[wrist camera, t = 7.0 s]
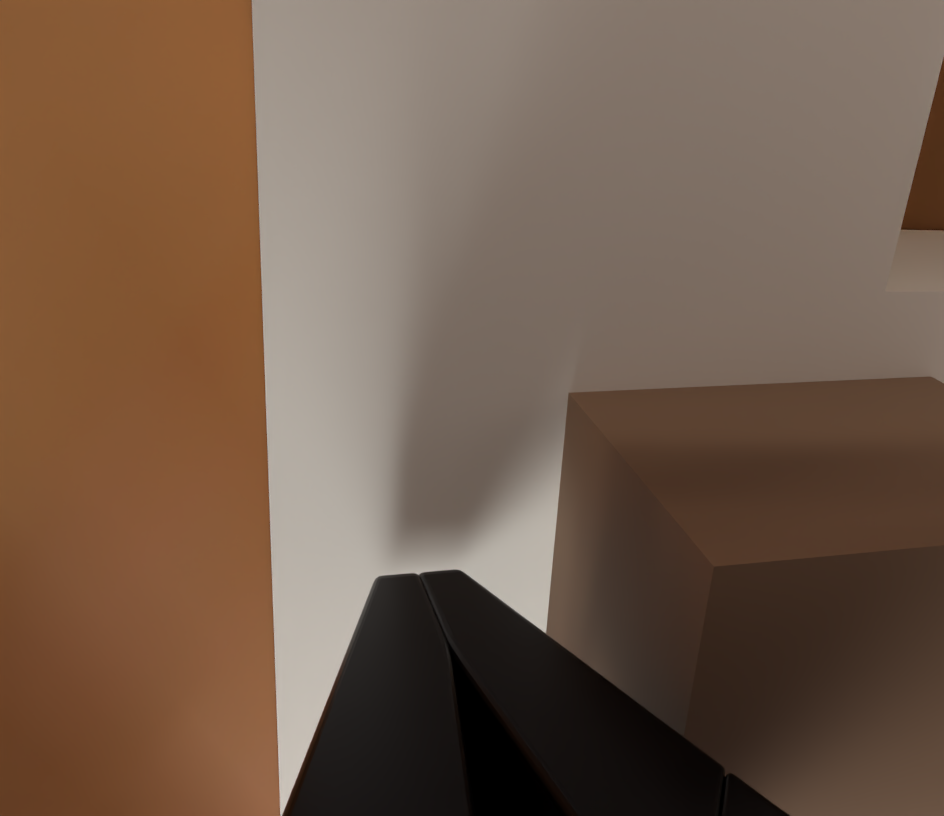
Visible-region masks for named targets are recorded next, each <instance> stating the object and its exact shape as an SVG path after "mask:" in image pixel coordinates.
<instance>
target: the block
mask: <svg viewBox="0 0 944 816" xmlns="http://www.w3.org/2000/svg"><path fill="white" fill-rule="evenodd" d="M546 634H547V635H549V636H550V637H551V638H553V639H554V640H555V641H557V642H558V643H559V644H561V645H562V646H563V647H565V648H566V649H567V650H569V651H570V652H571V653H573V654H574V655H575V656H577V657H578V658H579V659H581V660H582V661H583V662H585V663H586V664H587V665H589V666H590V667H591V668H593V669H594V670H595V671H597V672H598V673H599V674H601V675H602V676H603V677H605V678H606V679H607V680H609V681H610V682H611V683H613V684H614V685H615V686H617V687H618V688H619V689H621V690H622V691H623V692H625V693H626V694H627V695H629V696H630V697H631V698H633V699H634V700H635V701H637V702H638V703H639V704H641V705H642V706H643V707H645V708H646V709H647V710H649V711H650V712H651V713H653V714H654V715H655V716H657V717H658V718H659V719H661V720H662V721H663V722H665V723H666V724H667V725H669V726H670V727H671V728H673V729H674V730H675V731H677V732H678V733H679V734H681V735H682V736H683V737H685V738H686V739H687V740H689V741H690V742H691V743H693V744H694V745H695V746H697V747H698V748H699V749H701V750H702V751H703V752H705V753H706V754H707V755H709V756H710V757H711V758H713V759H714V760H715V761H717V762H718V763H719V764H721V765H722V766H723V767H724V768H725V776H726V775H727V774H729V773H732V774H735V775H736V776H737V777H739V778H740V779H741V780H743V781H744V782H745V783H747V784H748V785H749V786H751V787H752V788H753V789H755V790H756V791H757V792H759V793H760V794H761V795H763V796H764V797H765V798H767V799H768V800H769V801H771V802H772V803H773V804H775V805H776V806H778V807H779V808H780V809H782V810H783V811H785V812H786V813H787V814H789V815H790V816H944V383H942V382H940V381H939V380H937V379H935V378H933V377H908V378H886V379H863V380H841V381H818V382H796V383H773V384H751V385H728V386H706V387H683V388H661V389H639V390H617V391H595V392H573V393H568V404H567V414H566V425H565V435H564V446H563V457H562V467H561V478H560V489H559V499H558V510H557V521H556V532H555V542H554V553H553V564H552V574H551V585H550V596H549V607H548V617H547V628H546Z"/></svg>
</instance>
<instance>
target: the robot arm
mask: <svg viewBox="0 0 944 816" xmlns="http://www.w3.org/2000/svg"><path fill="white" fill-rule="evenodd" d="M282 816H790V815H789V814H787V813H786V812H785V811H783V810H782V809H780V808H779V807H778V806H776V805H775V804H773V803H772V802H771V801H769V800H768V799H767V798H765V797H764V796H763V795H761V794H760V793H759V792H757V791H756V790H755V789H753V788H752V787H751V786H749V785H748V784H747V783H745V782H744V781H743V780H741V779H740V778H739V777H737V776H736V775H735V774H732V773H729V774H727V775H726V776H725V768H724V767H723V766H722V765H721V764H719V763H718V762H717V761H715V760H714V759H713V758H711V757H710V756H709V755H707V754H706V753H705V752H703V751H702V750H701V749H699V748H698V747H697V746H695V745H694V744H693V743H691V742H690V741H689V740H687V739H686V738H685V737H683V736H682V735H681V734H679V733H678V732H677V731H675V730H674V729H673V728H671V727H670V726H669V725H667V724H666V723H665V722H663V721H662V720H661V719H659V718H658V717H657V716H655V715H654V714H653V713H651V712H650V711H649V710H647V709H646V708H645V707H643V706H642V705H641V704H639V703H638V702H637V701H635V700H634V699H633V698H631V697H630V696H629V695H627V694H626V693H625V692H623V691H622V690H621V689H619V688H618V687H617V686H615V685H614V684H613V683H611V682H610V681H609V680H607V679H606V678H605V677H603V676H602V675H601V674H599V673H598V672H597V671H595V670H594V669H593V668H591V667H590V666H589V665H587V664H586V663H585V662H583V661H582V660H581V659H579V658H578V657H577V656H575V655H574V654H573V653H571V652H570V651H569V650H567V649H566V648H565V647H563V646H562V645H561V644H559V643H558V642H557V641H555V640H554V639H553V638H551V637H550V636H549V635H547V634H546V633H545V632H543V631H542V630H541V629H539V628H538V627H537V626H535V625H534V624H533V623H531V622H530V621H529V620H527V619H526V618H525V617H523V616H522V615H521V614H519V613H518V612H517V611H515V610H514V609H513V608H511V607H510V606H509V605H507V604H506V603H505V602H503V601H502V600H501V599H499V598H498V597H497V596H495V595H494V594H493V593H491V592H490V591H489V590H487V589H486V588H484V587H483V586H482V585H480V584H479V583H478V582H476V581H475V580H474V579H472V578H471V577H470V576H468V575H467V574H466V573H464V572H463V571H461V570H457V569H453V570H442V571H430V572H423V573H420V574H419V575H418V574H415V573H407V574H395V575H382V576H378V577H377V578H376V579H375V580H374V582H373V584H372V587H371V589H370V592H369V595H368V597H367V600H366V602H365V605H364V607H363V610H362V612H361V615H360V618H359V620H358V623H357V625H356V628H355V630H354V633H353V635H352V638H351V641H350V643H349V646H348V648H347V651H346V653H345V656H344V659H343V661H342V664H341V666H340V669H339V671H338V674H337V676H336V679H335V682H334V684H333V687H332V689H331V692H330V694H329V697H328V699H327V702H326V705H325V707H324V710H323V712H322V715H321V717H320V720H319V722H318V725H317V728H316V730H315V733H314V735H313V738H312V740H311V743H310V745H309V748H308V751H307V753H306V756H305V758H304V761H303V763H302V766H301V768H300V771H299V774H298V776H297V779H296V781H295V784H294V786H293V789H292V791H291V794H290V797H289V799H288V802H287V804H286V807H285V809H284V812H283V814H282Z"/></svg>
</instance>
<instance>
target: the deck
mask: <svg viewBox="0 0 944 816" xmlns="http://www.w3.org/2000/svg"><path fill="white" fill-rule="evenodd" d="M252 24H253V53H254V81H255V109H256V137H257V166H258V194H259V222H260V251H261V279H262V307H263V335H264V364H265V392H266V420H267V448H268V477H269V505H270V533H271V562H272V590H273V618H274V646H275V675H276V703H277V731H278V759H279V788H280V816H282V814H283V812H284V809H285V807H286V804H287V802H288V799H289V797H290V794H291V791H292V789H293V786H294V784H295V781H296V779H297V776H298V774H299V771H300V768H301V766H302V763H303V761H304V758H305V756H306V753H307V751H308V748H309V745H310V743H311V740H312V738H313V735H314V733H315V730H316V728H317V725H318V722H319V720H320V717H321V715H322V712H323V710H324V707H325V705H326V702H327V699H328V697H329V694H330V692H331V689H332V687H333V684H334V682H335V679H336V676H337V674H338V671H339V669H340V666H341V664H342V661H343V659H344V656H345V653H346V651H347V648H348V646H349V643H350V641H351V638H352V635H353V633H354V630H355V628H356V625H357V623H358V620H359V618H360V615H361V612H362V610H363V607H364V605H365V602H366V600H367V597H368V595H369V592H370V589H371V587H372V584H373V582H374V580H375V579H376V578H377V577H378V576H382V575H395V574H407V573H415V574H418V575H419V574H420V573H423V572H430V571H442V570H453V569H457V570H461V571H463V572H464V573H466V574H467V575H468V576H470V577H471V578H472V579H474V580H475V581H476V582H478V583H479V584H480V585H482V586H483V587H484V588H486V589H487V590H489V591H490V592H491V593H493V594H494V595H495V596H497V597H498V598H499V599H501V600H502V601H503V602H505V603H506V604H507V605H509V606H510V607H511V608H513V609H514V610H515V611H517V612H518V613H519V614H521V615H522V616H523V617H525V618H526V619H527V620H529V621H530V622H531V623H533V624H534V625H535V626H537V627H538V628H539V629H541V630H542V631H543V632H545V633H546V628H547V617H548V607H549V596H550V585H551V574H552V564H553V553H554V542H555V532H556V521H557V510H558V499H559V489H560V478H561V467H562V457H563V446H564V435H565V425H566V414H567V404H568V393H573V392H595V391H617V390H639V389H661V388H683V387H706V386H728V385H751V384H773V383H796V382H818V381H841V380H863V379H886V378H908V377H933V378H935V379H937V380H939V381H940V382H942V383H944V230H901V226H902V222H903V218H904V214H905V210H906V206H907V202H908V198H909V194H910V190H911V186H912V182H913V178H914V174H915V170H916V166H917V162H918V158H919V154H920V150H921V146H922V142H923V138H924V134H925V130H926V126H927V122H928V118H929V114H930V110H931V106H932V102H933V98H934V94H935V90H936V86H937V82H938V78H939V74H940V69H941V65H942V61H943V57H944V0H252Z"/></svg>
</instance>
